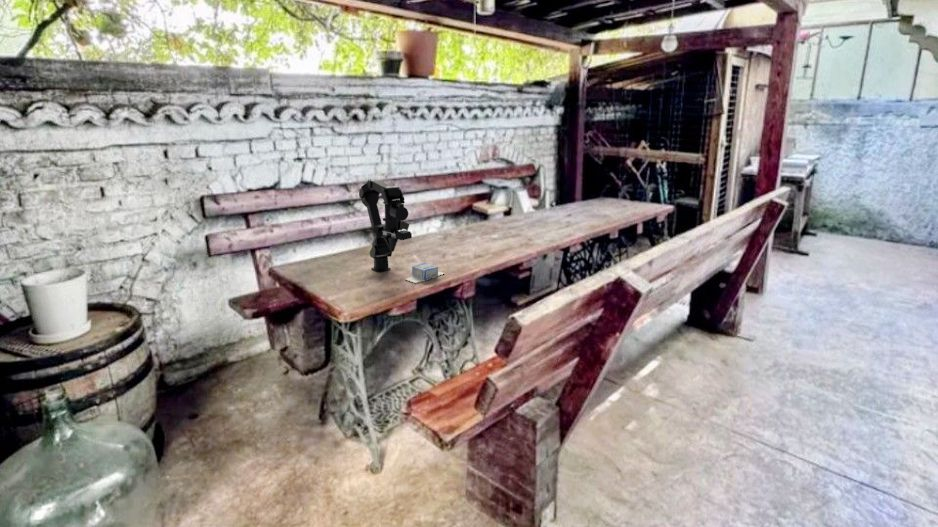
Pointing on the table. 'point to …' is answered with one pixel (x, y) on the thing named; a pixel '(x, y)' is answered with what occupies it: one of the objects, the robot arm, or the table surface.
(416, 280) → the white rectangular board
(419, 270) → the medicine box
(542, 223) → the table surface
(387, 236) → the robot arm
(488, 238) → the table surface
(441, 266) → the table surface
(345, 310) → the table surface
